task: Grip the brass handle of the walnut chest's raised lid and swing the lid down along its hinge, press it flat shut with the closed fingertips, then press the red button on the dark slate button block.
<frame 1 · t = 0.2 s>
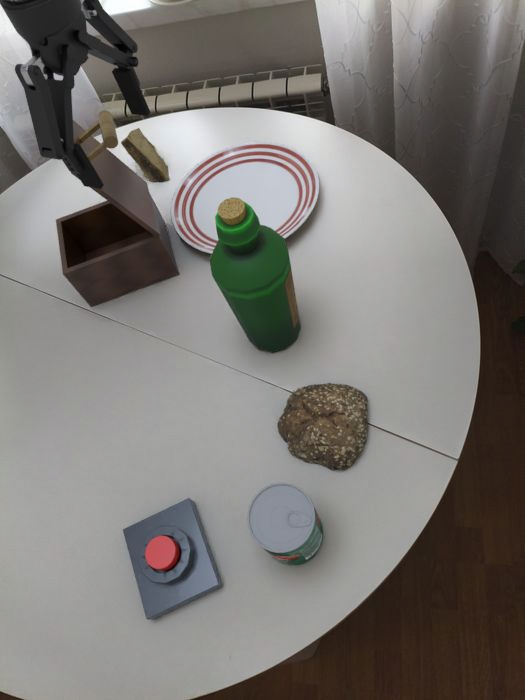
hand: (118, 148, 74), 28 cm above the table, tool pointing down, fingers open, 13 cm apart
lid: (127, 166, 84), point 20 cm above the table, hinge at 70.0°
button block: (174, 558, 74), on the table
chest: (129, 264, 101), on the table
bread roll: (323, 425, 79), on the table
dinner plate: (246, 206, 102), on the table
canned tomato: (294, 534, 73), on the table
rock: (156, 165, 113), on the table
button: (162, 553, 70), point 4 cm above the table, slide at 0.1 cm
bottle: (274, 330, 88), on the table
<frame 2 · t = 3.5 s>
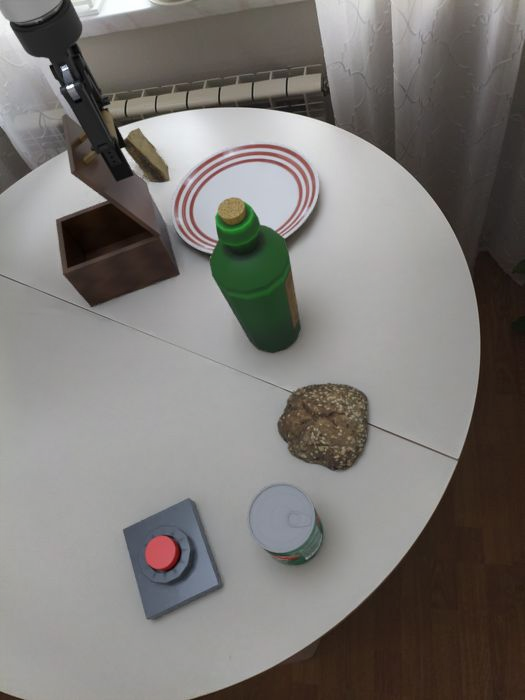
hand: (121, 162, 83), 21 cm above the table, tool pointing down, fingers closed on lid, 6 cm apart
lid: (127, 166, 84), point 20 cm above the table, hinge at 70.0°, touching gripper
everything else where it was.
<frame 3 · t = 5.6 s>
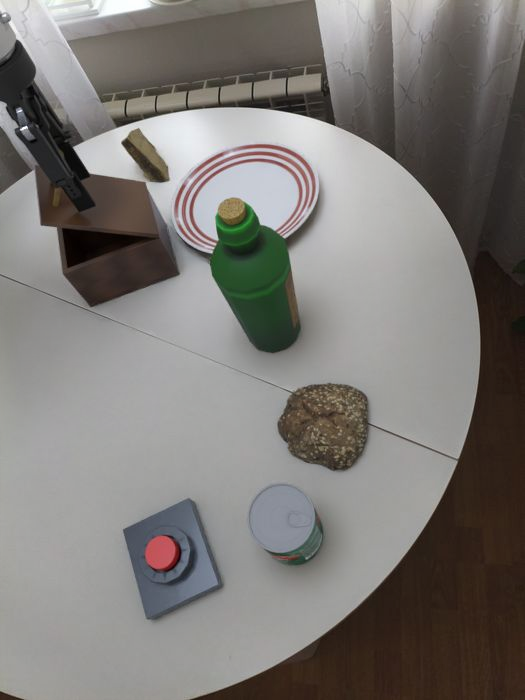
hand: (84, 192, 85), 18 cm above the table, tool pointing down, fingers closed on lid, 6 cm apart
lid: (101, 187, 85), point 18 cm above the table, hinge at 36.1°, touching gripper
everything else where it was.
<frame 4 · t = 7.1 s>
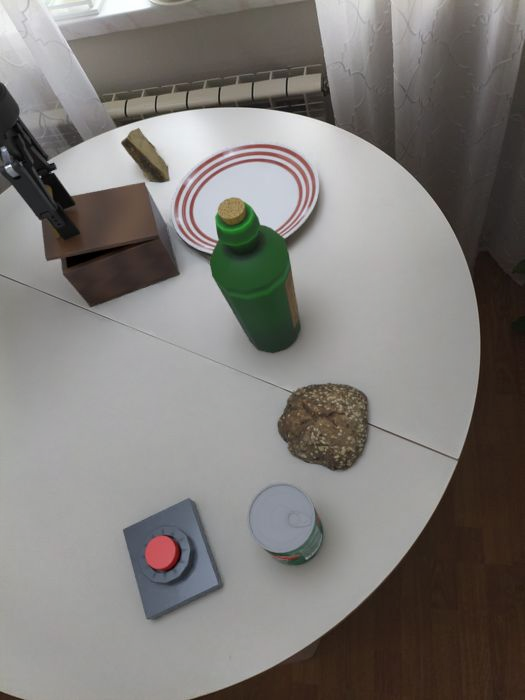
hand: (69, 220, 89), 14 cm above the table, tool pointing down, fingers closed on lid, 6 cm apart
lid: (93, 205, 88), point 15 cm above the table, hinge at 12.0°, touching gripper
everything else where it was.
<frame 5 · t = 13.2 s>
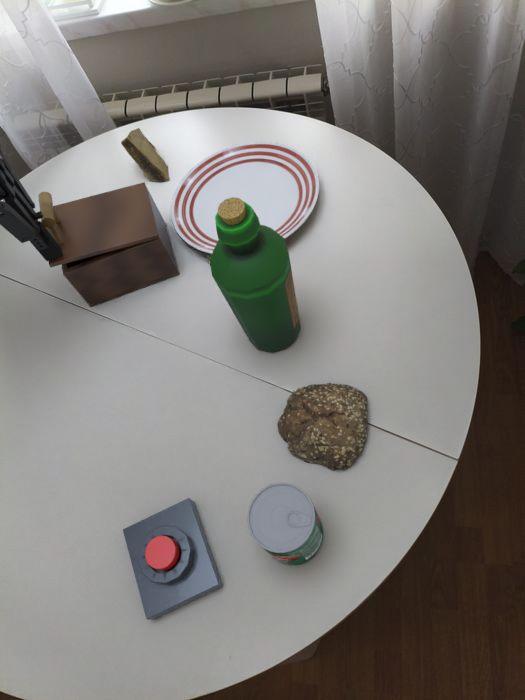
hand: (54, 255, 87), 13 cm above the table, tool pointing down, fingers closed
lid: (93, 209, 89), point 14 cm above the table, hinge at 7.1°, touching gripper
everything else where it was.
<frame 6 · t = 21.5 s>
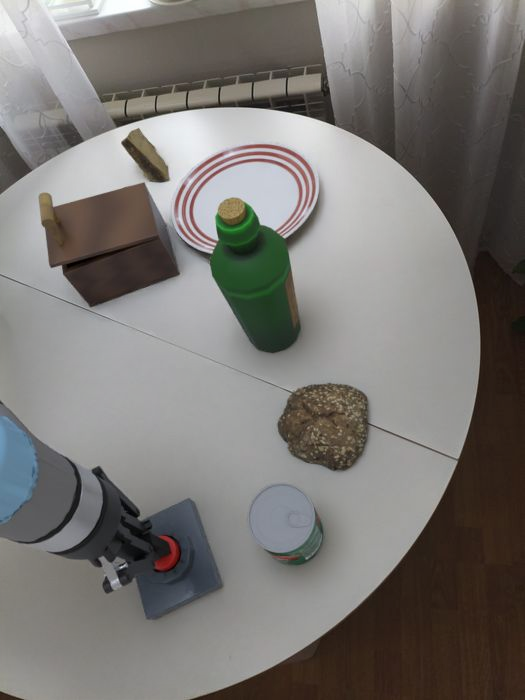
hand: (160, 552, 69), 6 cm above the table, tool pointing down, fingers closed
lid: (93, 210, 89), point 14 cm above the table, hinge at 6.5°
button: (162, 553, 70), point 4 cm above the table, slide at 0.0 cm, touching gripper
everything else where it was.
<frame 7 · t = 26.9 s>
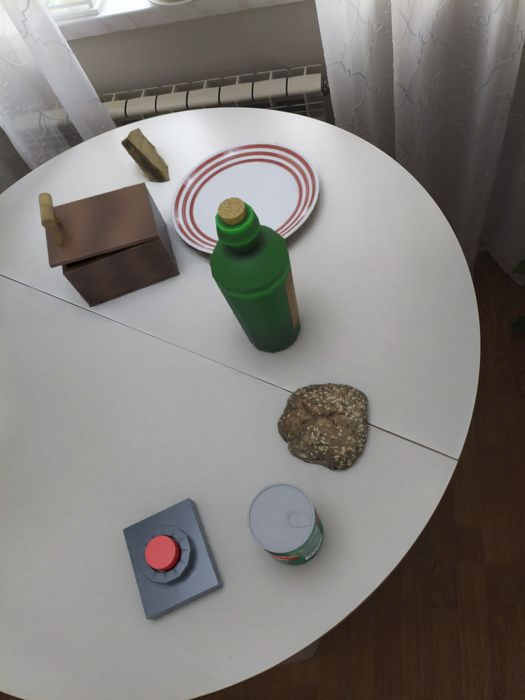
button: (162, 553, 70), point 4 cm above the table, slide at 0.1 cm
everything else where it was.
at the end: lid at +6° (first picture: +70°); button pushed in 1.0 cm at the most during the clip, back to where it started at the end; button slide at 0.1 cm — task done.
